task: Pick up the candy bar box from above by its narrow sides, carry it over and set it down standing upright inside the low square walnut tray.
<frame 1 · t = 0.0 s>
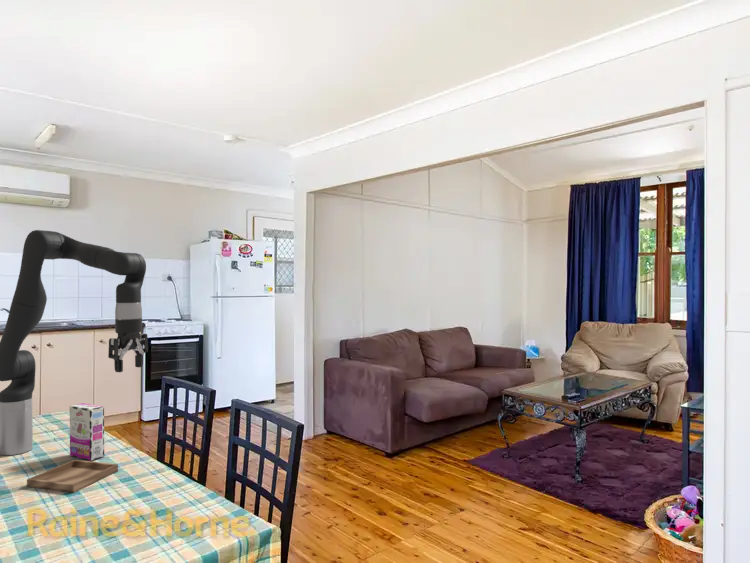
hand: (129, 369, 161), 29 cm above the table, tool pointing down, fingers open, 8 cm apart
walnut tray: (74, 478, 149), on the table
candy bar box: (87, 457, 168), on the table
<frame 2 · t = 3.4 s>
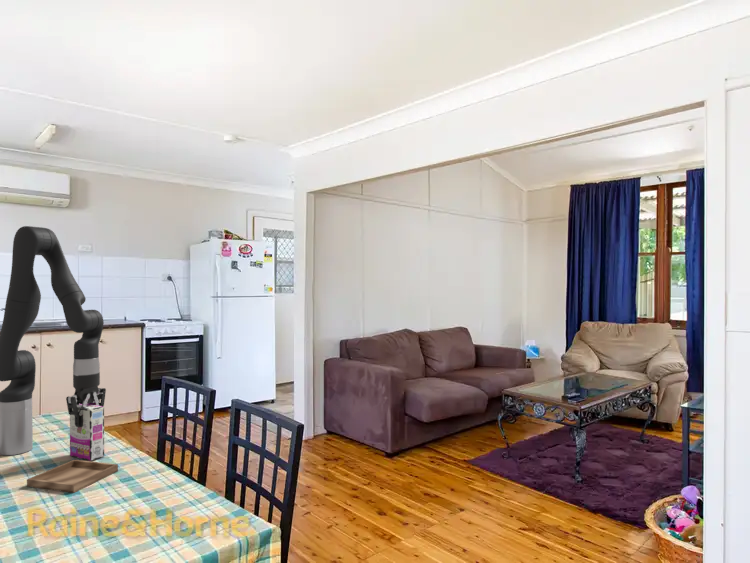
hand: (87, 423, 167), 11 cm above the table, tool pointing down, fingers closed on candy bar box, 5 cm apart
candy bar box: (87, 457, 168), on the table, touching gripper
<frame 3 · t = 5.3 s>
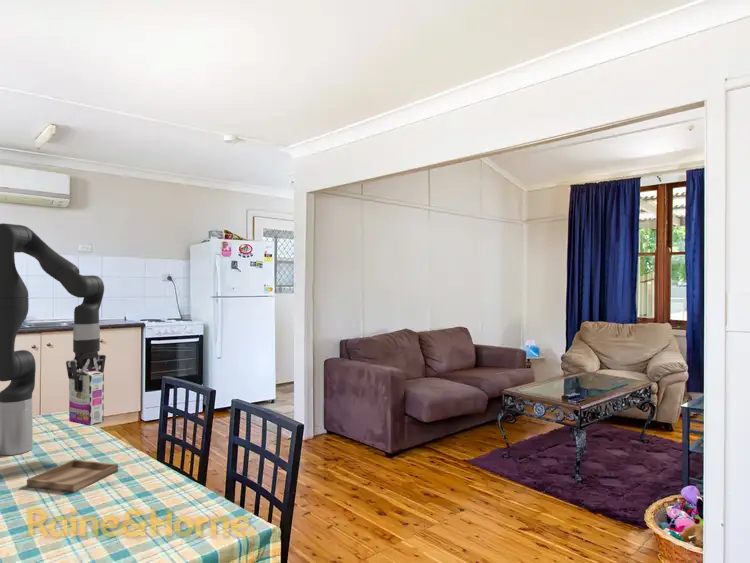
hand: (86, 389, 167), 22 cm above the table, tool pointing down, fingers closed on candy bar box, 5 cm apart
candy bar box: (86, 422, 167), point 11 cm above the table, touching gripper
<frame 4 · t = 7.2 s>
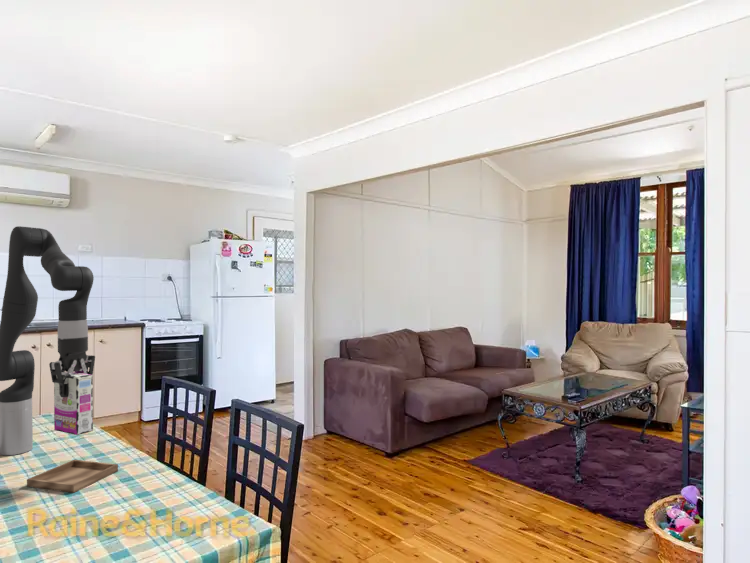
hand: (73, 394, 149), 24 cm above the table, tool pointing down, fingers closed on candy bar box, 5 cm apart
candy bar box: (73, 431, 149), point 14 cm above the table, touching gripper
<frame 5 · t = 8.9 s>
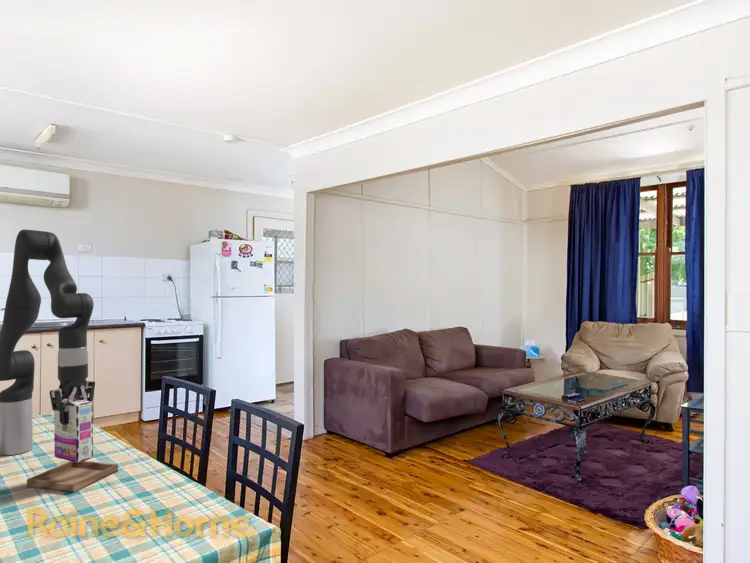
hand: (73, 421, 149), 17 cm above the table, tool pointing down, fingers closed on candy bar box, 5 cm apart
candy bar box: (74, 458, 149), point 6 cm above the table, touching gripper
when the fingers open (12 cm above the table, at t = 10.5 s): candy bar box stays where it is, resting on walnut tray.
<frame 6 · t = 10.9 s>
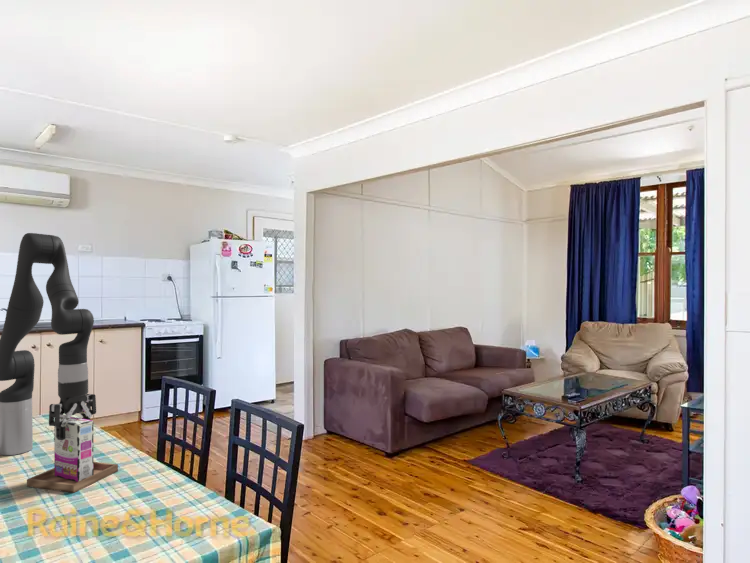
hand: (73, 435, 149), 13 cm above the table, tool pointing down, fingers open, 8 cm apart
candy bar box: (74, 477, 149), resting on walnut tray
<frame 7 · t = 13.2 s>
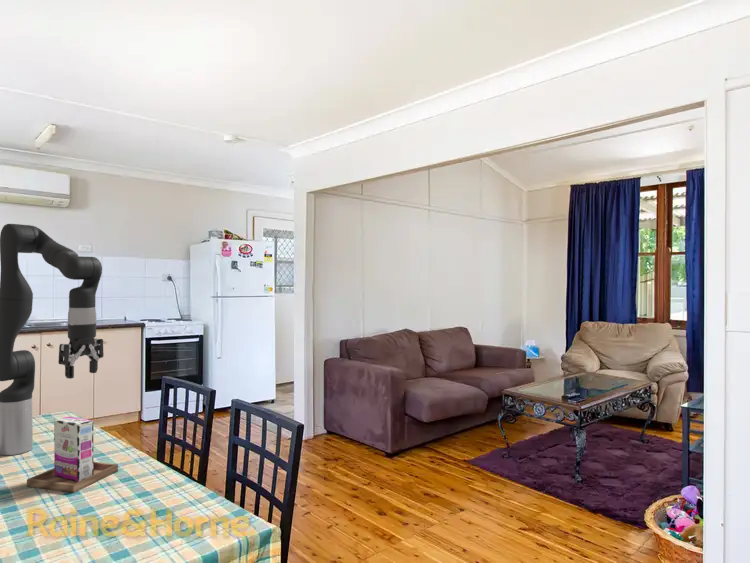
hand: (81, 375, 158), 28 cm above the table, tool pointing down, fingers open, 8 cm apart
nothing on the table moved.
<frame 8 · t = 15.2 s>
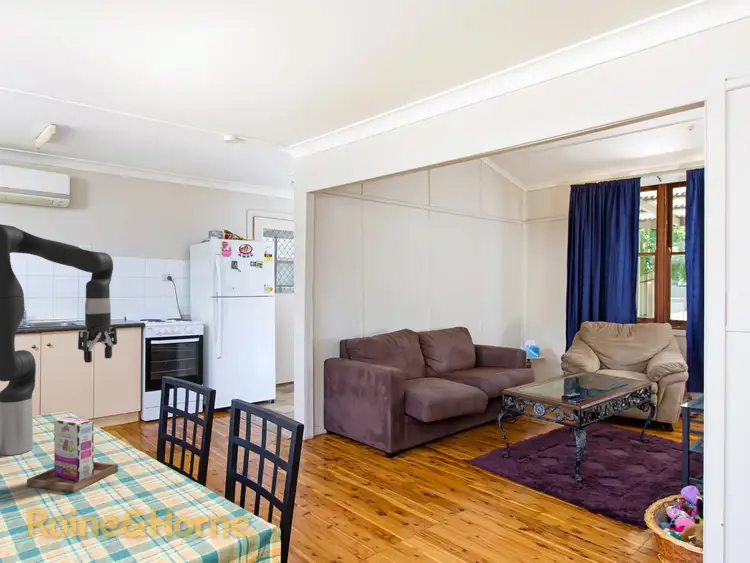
hand: (98, 360, 173), 30 cm above the table, tool pointing down, fingers open, 8 cm apart
nothing on the table moved.
at the end: candy bar box inside the target area on the walnut tray (0.2 cm from its centre), point 0.3 cm above the walnut tray's base; candy bar box tilted 0°; the gripper is holding nothing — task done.
